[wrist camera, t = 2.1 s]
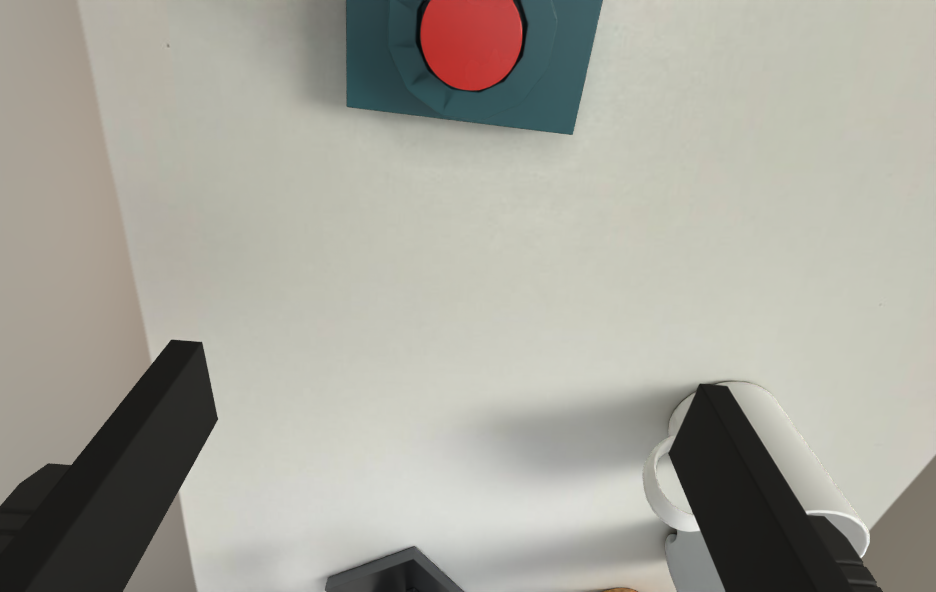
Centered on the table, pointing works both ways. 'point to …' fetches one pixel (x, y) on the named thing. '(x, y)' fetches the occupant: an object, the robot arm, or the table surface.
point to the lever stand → (394, 576)
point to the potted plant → (620, 590)
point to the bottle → (691, 563)
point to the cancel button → (471, 41)
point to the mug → (787, 454)
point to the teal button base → (503, 104)
